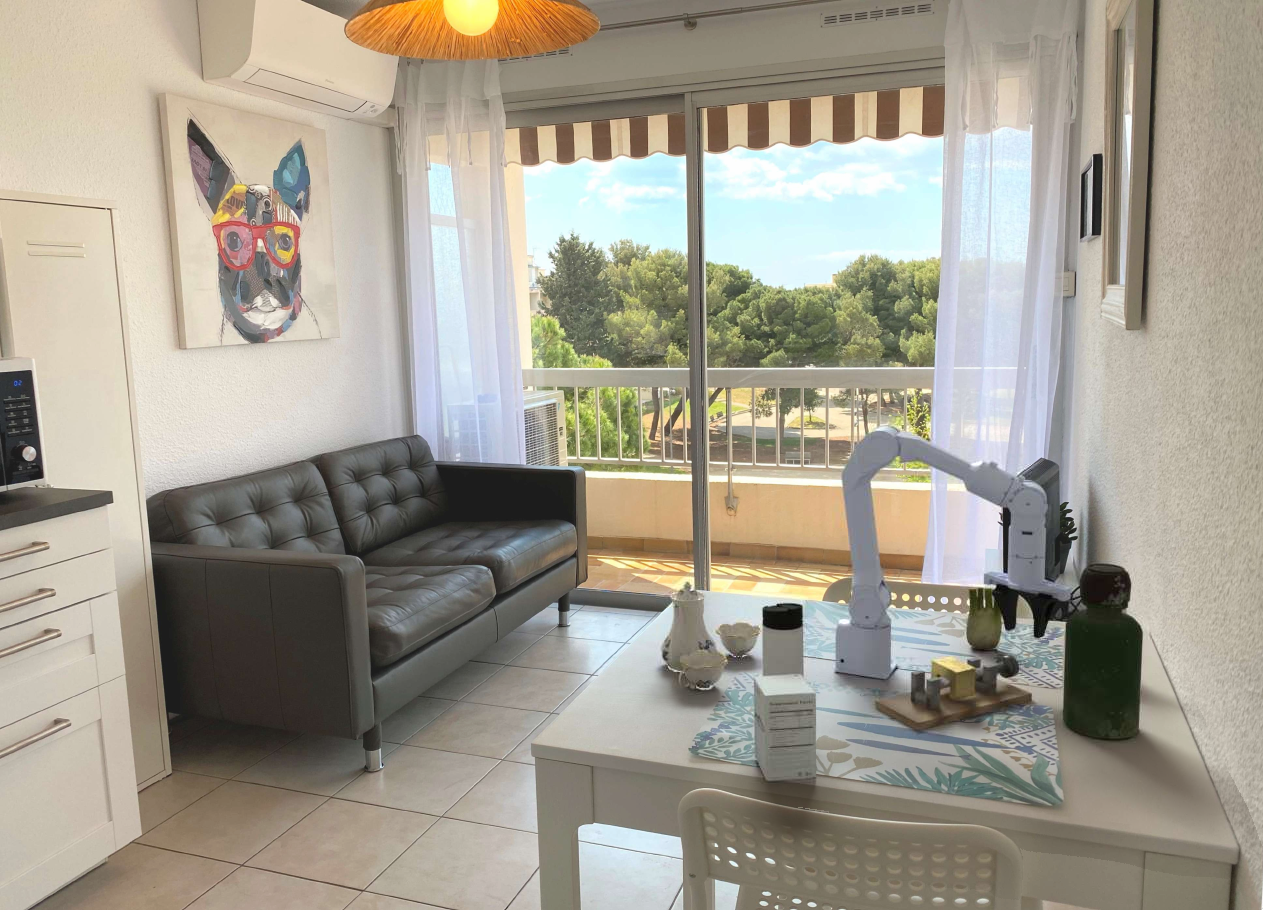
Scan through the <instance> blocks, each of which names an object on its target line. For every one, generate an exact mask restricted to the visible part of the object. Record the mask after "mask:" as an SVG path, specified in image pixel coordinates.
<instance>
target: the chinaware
mask: <svg viewBox="0 0 1263 910" xmlns="http://www.w3.org/2000/svg"><path fill="white" fill-rule="evenodd" d="M692 586H693V585H692V584H691V583H690V581H689V580H688V581H685V583H684V585H683V587H681V588H679V590H678V592H673V593H671V594H670V598H671V601H672V606H673V607H672V608H673V619H672V623H671V627H670V629H669V632H668V634H667V636H666V638H665V639H664V641H663V643H662V644H661V647H660V651H661V658H662V660H663V661H664V662H665V663H666V665H667V664H668V666H669V667H670V668H671V669H674V670H677V671H681V672H680V673H678V674H679V675H678V683H679V685H680V686H681V687H682V688H686V687H688V686H689V687H690V689H692V690H694V689H696V688H695V686H696V685H697V687H699V688H709V687H710V685H713V686H714V685H715V684H716V683H717V682H718V681H720V679H721V677H722V675H723V673H724V668H725V666H726V665H728V663H729V659H728V658H727V657H726V655H725V654H724V653H722V651H721V652H720V651H718V649H717V646H716V642H715V641H714V639H713V638H712V636H711V635H710V633H709V632H708V630H707V627H706V623H705V620H704V611H705V604H704V603H705V602H704V601H705V598H706V594H704V593H702V592H701V591H697V589H696V588H695V587H692ZM761 631H762V627H761V626H760V625H754V626H752V624H750V623H749V622H745V621H738V622H735V623H733V624H728V623H721V624H719V625H718V627H717V629H716V630H715V633H716V635H718V636H719V638H720V641H721V644H722V646H723V647H724V649H725V650H726V651H728V652H729V653H730V654H733V657H734V656H736V657H738V656H739V657H742V656H743V655H746V654H748V653H749V652H751V651H752V650H753V649H754V648H755V646H756V644H757V641H758V637H759V635H760V633H761ZM733 657H732V658H733ZM683 672H684V673H685V674H683ZM683 675H685V677H686V678H687V680H688V681H689V682H688V683H687V684H686V685H684V684H683V683H682V676H683Z"/></svg>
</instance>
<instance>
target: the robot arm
mask: <svg viewBox="0 0 1263 910" xmlns="http://www.w3.org/2000/svg"><path fill="white" fill-rule="evenodd" d="M897 457H899V464H903V463H904V464H905V463H913V462H920V463H922V464H925V465H927V466H929V467H931V468H934V469H935V470H937V471H940V472H943V473H945V474H948V475H950V476H951V477H954V478H956V479H958V480H961V481H962V482H963V484H964V487H965V489H966V491H967V492H969V493H971V494H973V495H976V496H977V497H979V498H982V499H983V500H985V501H987V502H990V503H992V504H993V505H996V506H998V507H1000V508H1008V510H1009V512H1010V525H1009V527H1008V555H1007V557H1008V558H1007V573H1003V572H997V571H996V572H995V571H990V570H989V571H987V572H984V573H983V584H984V585H988V586H990V585H993V586H995V589H992V598H993V600H994V599H995V600H996V602H997V604H998V606H999V609H1000V611H1001V617H1002V618H1001V619H1002V623H1003V625H1004V629H1005V631H1007V632H1010V631H1014V630H1016V626H1017V615H1018V614H1017V613H1018V612H1017V610H1018V602H1019V599H1020V598H1019V597H1020V592H1025V593H1030V594H1035V595H1037V596H1034V597H1031V598H1030V604H1031V608H1032V614H1033V637H1034V638H1035V639H1041V638H1043V637H1045V635H1046V632H1047V631H1046V630H1047V628H1048V624H1049V621H1050V619H1051V616H1052V615H1053V612H1054V611H1055V609H1056V608H1057V606H1058V604H1059V602H1066V601H1069V600H1071V596H1072V595H1071V593H1072V592H1071V590H1072V588H1071V587H1069V586H1064V585H1063V584H1058V583H1055V582H1052V581H1049V580H1047V579H1045V578H1046V576H1045V575H1046V574H1045V573H1046V572H1045V569H1046V568H1045V567H1046V544H1047V543H1046V542H1047V540H1046V539H1047V536H1046V535H1047V528H1046V527H1045V526H1046V521H1047V520H1046V516H1045V515H1046V513H1047V511H1048V508H1049V505H1048V501H1047V500H1048V499H1047V493H1046V491H1045V490H1044V488H1043V487H1041V486H1042V485H1039V484H1038V483H1036V481H1034V480H1033V479H1032V480H1031V479H1026V478H1025V476H1023V475H1020V474H1019V476H1016V475H1014V474H1013V473H1010V472H1008V471H1006V470H1003V469H1002V468H999V467H998V465H999V464H998V462H996V461H993V460H990V461H989V462H987V461H985V460H980V461H977V462H973V463H972V462H969V461H967V460H965V459H963V458H962V457H960V456H958V455H956V454H955V453H952V452H950V451H948V450H946V449H944V448H943V447H941V446H939V445H937V444H935V443H933V442H931V441H929V440H927V439H925V438H923V437H921V436H919V435H918V434H917V435H916V434H914V433H912V432H910V431H907V430H904V429H902V430H900V429H899V428H897V427H896V426H894V425H890V424H882V425H879V426H876V427H875V428H874V429H873V430H871V431H870V432H868V433H867V434H866V435H865V436H864V437H862V439H860V440H859V441H858V442H857V443H856V444H855V445H854V448H853V451H852V453H851V455H850V456H849V458H848V460H847V462H846V464H845V466H844V468H843V470H842V472H841V483H842V484H841V485H842V491H843V492H842V493H843V501H844V502H843V503H844V509H845V510H844V511H845V516H846V519H845V520H846V526H847V533H848V541H849V543H848V544H849V552H850V559H851V568H852V578H851V579H852V580H851V598H850V600H849V603H848V608H847V609H848V613H849V616H850V617H849V618H841V619H840V620H839V621H838V622H837V626H836V630H835V667H834V670H833V671H834V672H835V673H842V674H848V675H849V674H850V675H855V676H856V675H857V676H863V677H868V678H874V679H879V680H880V679H881V680H887V679H888V678H889V676H890V675H891V674H893V671H894V670H895V669H896V668H897V667H898V663H897V662H895V661H892V619H891V618H890V616H889V614H888V612H887V609H888V608H889V607H890V606H891V603H892V600H893V599H892V592H891V591H892V590H891V589H890V587H889V586H888V585H887V584H886V580H885V576H884V572H883V571H884V570H882V567H881V560H880V552H879V543H878V535H877V527H876V526H877V525H876V518H875V509H874V501H873V493H872V483H871V481H872V479H873V478H874V477H875V476H876V475H877V474H878V473H879V472H880V471H881V470H882V469H884V468H885V467H888V466H890V464H892V463H893V462H895V460H896V458H897Z"/></svg>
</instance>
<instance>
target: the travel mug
mask: <svg viewBox="0 0 1263 910" xmlns="http://www.w3.org/2000/svg"><path fill="white" fill-rule="evenodd" d="M761 609H762V612H761V613H762V617H761V618H762V623H761V626H762V627H761V631H762V633H761V635H762V637H761V638H762V642H761V643H762V645H761V647H762V676H774V675H788V674H802V676H803V677H804V676H805V675H804V674H805V673H804V665H805V664H804V612H803V611H804V607H803V605H802V604H800V603H795V602H794V603H793V602H780V603H776V604H775V605H774V604H773V605H765V606H763V607H762V608H761ZM804 678H805V677H804Z"/></svg>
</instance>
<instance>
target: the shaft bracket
mask: <svg viewBox="0 0 1263 910" xmlns="http://www.w3.org/2000/svg"><path fill="white" fill-rule="evenodd" d="M966 664H968V665H970V666H972V667H975V668H980V667H983V678H982V679H978V680H975V689H974V696H970V697H966V698H962V699H958V700H954V699H952V698H950V697H949V695H950V687H947V688H943V689H940V688H941V679H940V678H937V677H934V678H931V677H930V678H926V672H925V671H923V670H921V669H919V670H915V671H911V672H910V692H906V693H903V694H897V695H894V696H889V697H886V698H882V699H877V700H875V701H874V703H875V705H874V707H875V709H876V710H879V711H881V712H882V713H883V714H886V715H888V716H889V717H891V718H894V719H896V720H897V721H899V722H901V723H903V724H905V725H906V726H908V727H910V728H912V729H913V730H916V731H921V730H925V729H929V728H932V727H937V726H939V725H943V724H948V723H951V722H954V721H958V720H959V721H960V720H963V719H966V718H970V717H973V716H977V715H981V714H986V713H988V712H993V711H997V710H1000V709H1004V708H1008V707H1011V706H1015V705H1019V704H1023V703H1027V702H1031V701H1033V693H1032V692H1029V691H1027V690H1025V689H1023V688H1020V687H1018V686H1016V685H1013V684H1010V683H1008V682H1005V681H1003V680H1001V679H998V675H997V665H995V664H996V663H989V664H985V665H982V659H981V658H979V657H971V658H969V659H968V658H967V661H966Z"/></svg>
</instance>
